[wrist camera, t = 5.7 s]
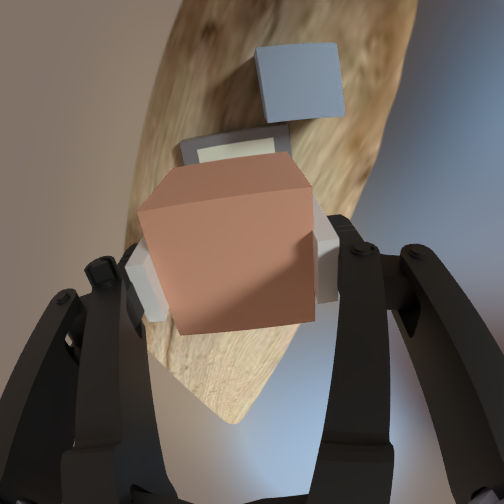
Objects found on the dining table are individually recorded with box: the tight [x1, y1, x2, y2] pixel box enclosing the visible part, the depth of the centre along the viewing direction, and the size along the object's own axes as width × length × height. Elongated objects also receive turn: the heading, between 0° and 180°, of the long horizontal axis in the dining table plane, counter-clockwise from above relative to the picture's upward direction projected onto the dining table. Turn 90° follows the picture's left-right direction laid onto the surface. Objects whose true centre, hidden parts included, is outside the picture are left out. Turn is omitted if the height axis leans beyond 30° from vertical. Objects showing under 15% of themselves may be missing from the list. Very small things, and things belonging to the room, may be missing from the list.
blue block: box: [254, 43, 345, 123], centre depth 21 cm, size 6×6×6 cm
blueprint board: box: [179, 123, 292, 166], centre depth 28 cm, size 10×9×2 cm
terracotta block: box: [137, 151, 315, 335], centre depth 14 cm, size 6×6×6 cm
